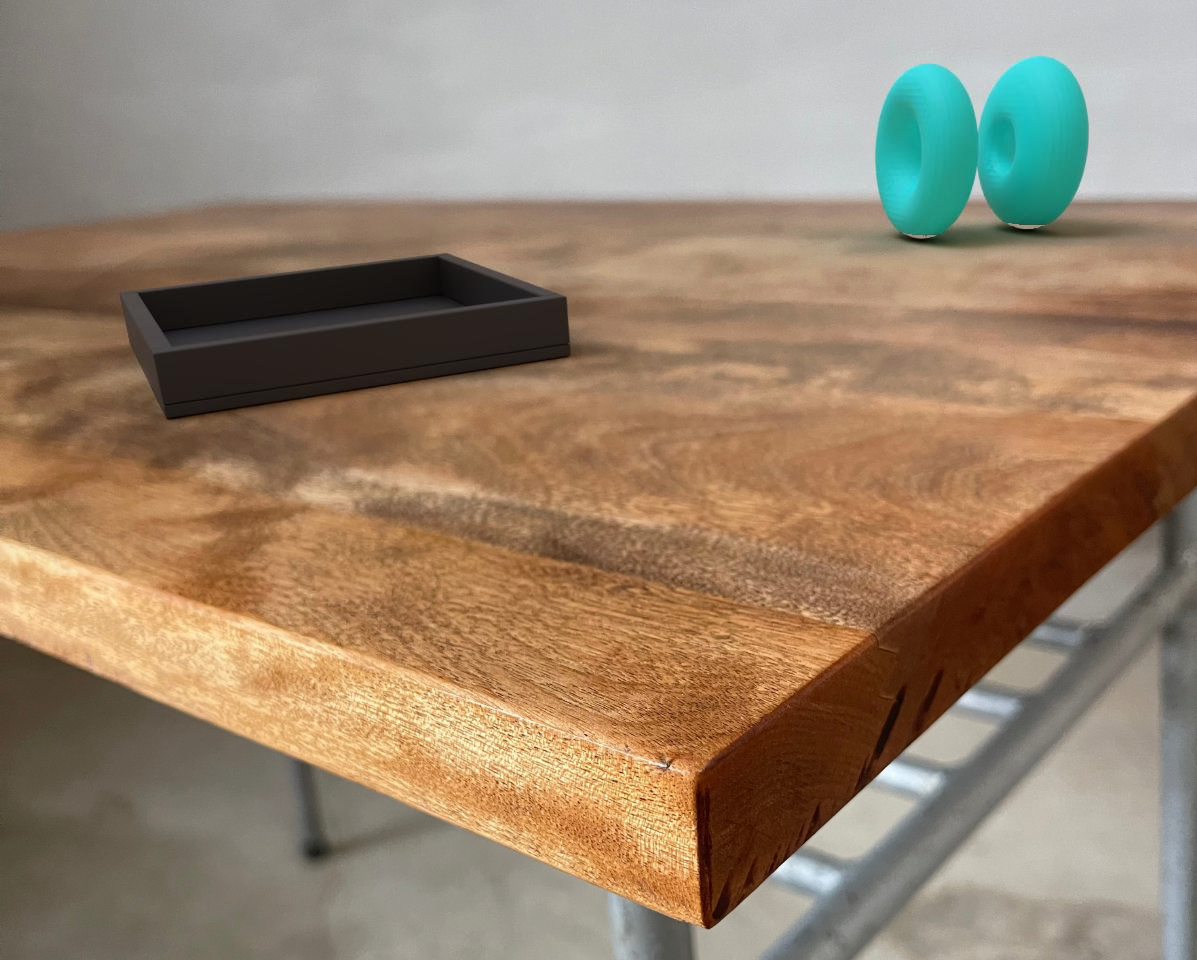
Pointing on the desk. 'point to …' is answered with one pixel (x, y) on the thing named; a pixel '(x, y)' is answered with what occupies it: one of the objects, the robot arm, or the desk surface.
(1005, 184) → the donuts
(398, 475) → the desk surface
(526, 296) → the tray
